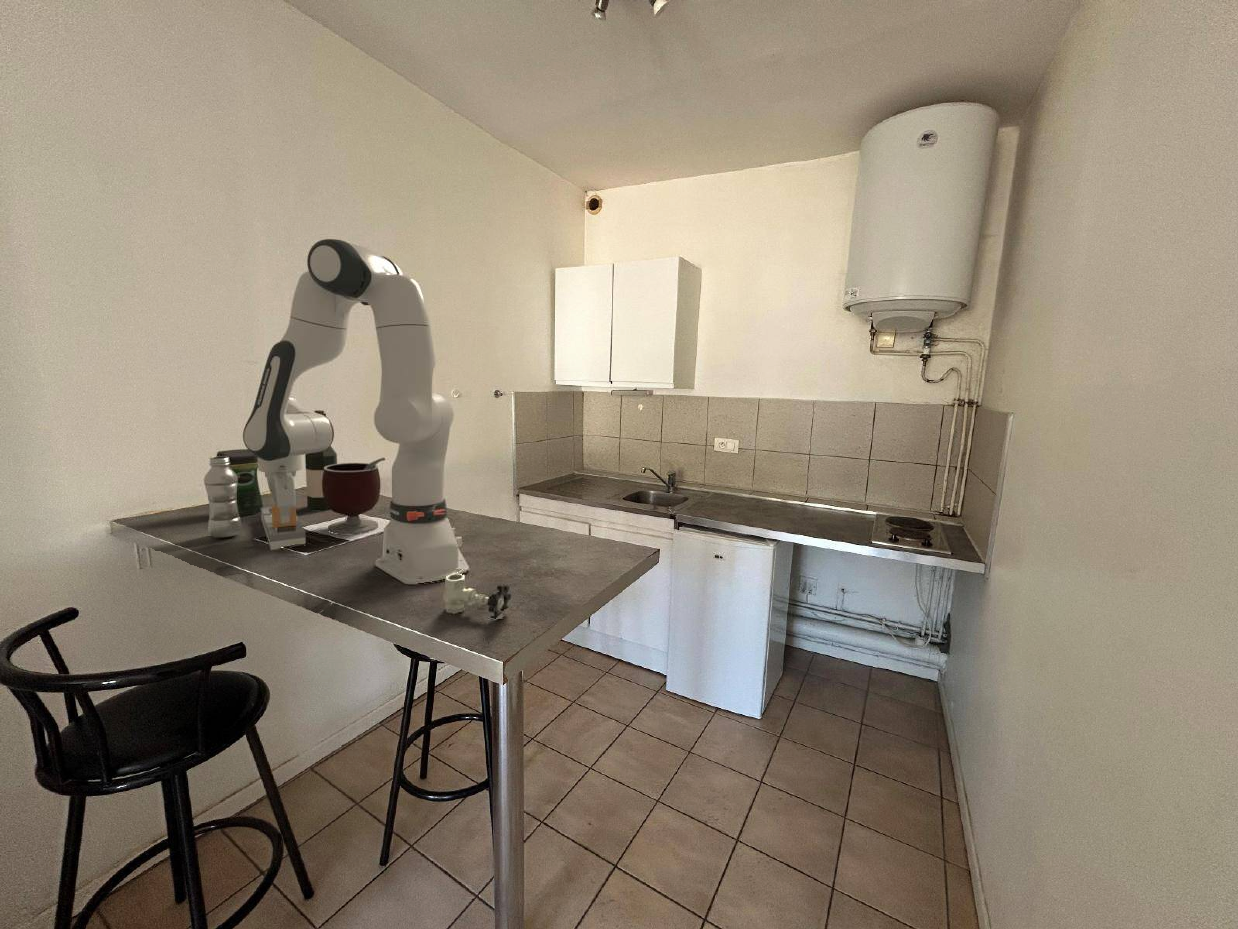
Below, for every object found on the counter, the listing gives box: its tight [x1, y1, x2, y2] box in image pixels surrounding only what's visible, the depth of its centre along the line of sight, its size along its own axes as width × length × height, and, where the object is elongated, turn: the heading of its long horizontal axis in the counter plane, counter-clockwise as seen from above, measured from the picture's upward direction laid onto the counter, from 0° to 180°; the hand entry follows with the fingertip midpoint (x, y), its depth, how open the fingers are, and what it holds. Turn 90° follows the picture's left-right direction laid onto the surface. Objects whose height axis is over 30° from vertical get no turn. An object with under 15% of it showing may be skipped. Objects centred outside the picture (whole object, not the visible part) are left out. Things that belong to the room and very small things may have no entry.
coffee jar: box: [215, 448, 264, 517], centre depth 140 cm, size 10×8×19 cm
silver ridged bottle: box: [203, 456, 243, 539], centre depth 121 cm, size 6×7×20 cm
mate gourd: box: [322, 457, 386, 535], centre depth 133 cm, size 16×14×20 cm
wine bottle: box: [304, 409, 338, 512], centre depth 149 cm, size 8×8×30 cm
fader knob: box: [270, 504, 297, 533], centre depth 122 cm, size 3×5×7 cm, turn 129°
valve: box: [442, 574, 512, 619], centre depth 90 cm, size 7×7×12 cm
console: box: [260, 506, 307, 551], centre depth 128 cm, size 28×7×4 cm, turn 39°
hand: (282, 517), depth 122 cm, fingers open, 8 cm apart
